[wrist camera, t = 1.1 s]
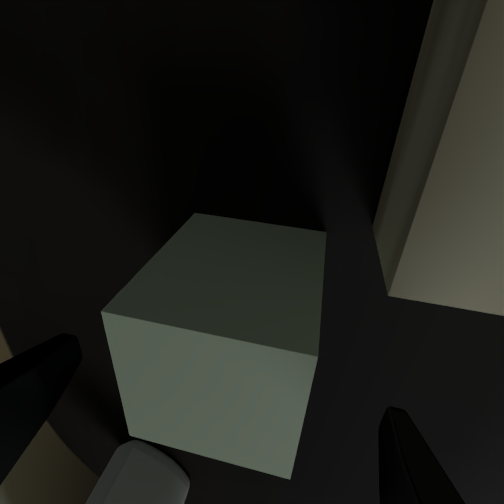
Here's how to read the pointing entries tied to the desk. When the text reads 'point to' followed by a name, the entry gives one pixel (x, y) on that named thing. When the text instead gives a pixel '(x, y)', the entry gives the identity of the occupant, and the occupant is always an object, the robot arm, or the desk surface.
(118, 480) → the eye dropper bottle
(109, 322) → the sage block
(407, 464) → the robot arm
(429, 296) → the birch block
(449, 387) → the desk surface
